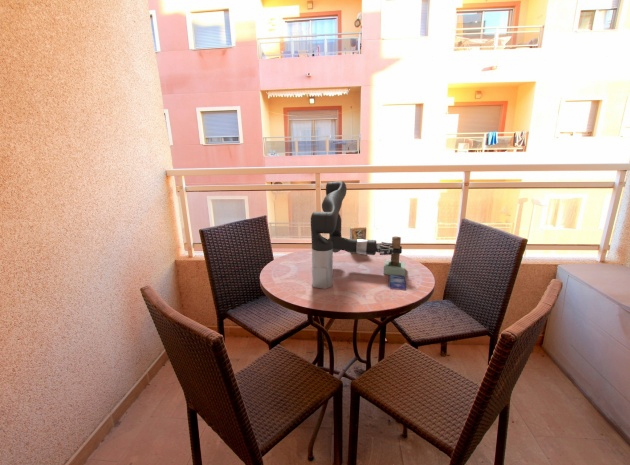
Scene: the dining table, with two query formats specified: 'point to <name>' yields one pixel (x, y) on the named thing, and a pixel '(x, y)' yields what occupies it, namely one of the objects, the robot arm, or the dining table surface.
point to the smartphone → (397, 282)
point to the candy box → (358, 233)
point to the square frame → (394, 268)
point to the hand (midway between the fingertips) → (401, 249)
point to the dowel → (395, 256)
